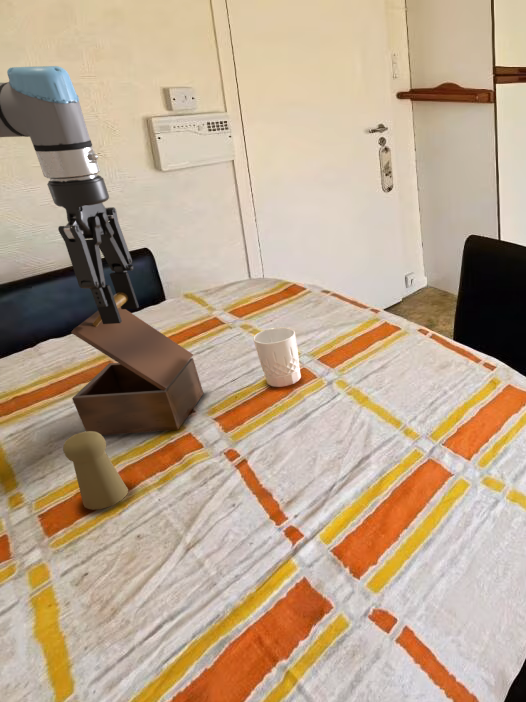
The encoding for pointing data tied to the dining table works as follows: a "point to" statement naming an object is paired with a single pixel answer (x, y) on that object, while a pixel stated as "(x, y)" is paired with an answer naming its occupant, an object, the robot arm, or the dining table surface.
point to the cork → (94, 470)
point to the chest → (136, 401)
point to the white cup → (278, 356)
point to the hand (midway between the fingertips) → (121, 315)
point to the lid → (135, 345)
